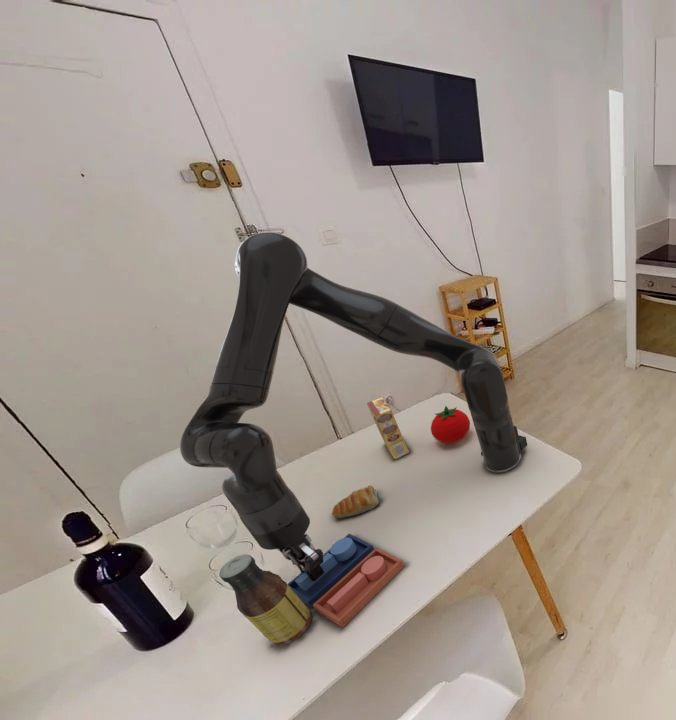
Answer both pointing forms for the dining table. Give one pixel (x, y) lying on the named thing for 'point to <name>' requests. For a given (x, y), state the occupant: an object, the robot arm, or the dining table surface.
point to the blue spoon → (330, 560)
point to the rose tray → (364, 595)
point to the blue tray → (332, 573)
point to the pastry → (356, 503)
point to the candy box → (388, 427)
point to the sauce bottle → (266, 600)
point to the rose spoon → (358, 582)
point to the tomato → (450, 425)
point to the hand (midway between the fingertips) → (314, 574)
